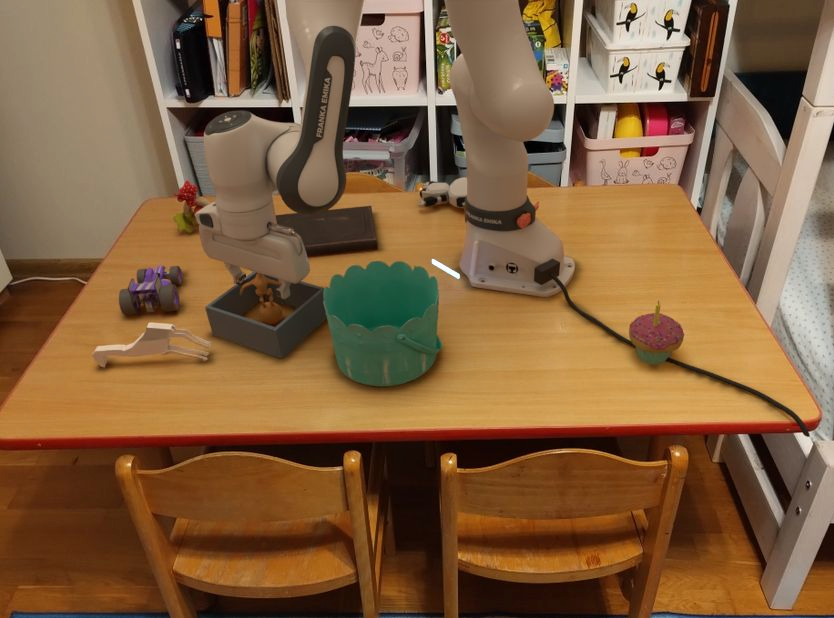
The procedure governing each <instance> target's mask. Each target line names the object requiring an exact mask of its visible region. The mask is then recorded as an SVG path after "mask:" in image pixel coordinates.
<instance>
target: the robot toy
mask: <svg viewBox="0 0 834 618" xmlns="http://www.w3.org/2000/svg"><path fill="white" fill-rule="evenodd" d="M466 195H467V176H466V177H459V178H457V179H454V181H453V182H452V183H451V184H448V183H447V182H439V181H434V180H430V181H426V182H425V183H423V187H422V189H421V190H420V191H419V197H420V198H421V199H422V200H419V201H417V202H416V203H417V206H418V207H426V208H429V207H433V206H440V205H443V204H447V203H448V202H449V204H450V205H452V206H453V207H455V208H458V209H461V208H462V209H464V210H465V197H466Z"/></svg>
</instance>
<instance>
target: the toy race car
mask: <svg viewBox="0 0 834 618" xmlns="http://www.w3.org/2000/svg"><path fill="white" fill-rule="evenodd" d="M169 279H170V280H169ZM136 281H137V283H136ZM136 281H135V279H134V278H131V279H130V281H129V283H128V286H127V288H122V289H120V290H119V293H118V304H119V309H120V311H121V313H122V315H124V316H135V315H139V314H140V312H141V308H145V310H146V312H147V313H154V312H155V311H156V309H157V307H158V306H161V307H160V308H161V309H162V311H163V312H165V313H167V312H177V311H179V309H180V304H181V300H180V299H181V298H180V293H179V290H178V287H177V286H181V285H182V284H183V270H182V268H181V267H180V266H179V265H173V266H169V270H168V271H166V266H164V265H157V266H156V267H155V268H153V267H147V268H139V269H137V271H136ZM140 296H142V299H141V298H140ZM141 304H143V305H141Z"/></svg>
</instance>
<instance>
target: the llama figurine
mask: <svg viewBox="0 0 834 618" xmlns="http://www.w3.org/2000/svg"><path fill="white" fill-rule="evenodd" d="M171 338H183V339H185V340H187V341H189V342H192V343H193V344H195V345H197V346H200V347H202V348H205V349H207V350H210V348H211V344H212V342H213V341H212V340H210V339H209V340H206V339H204V338H201V337H199V336H197V335H196V334H192V333H191V332H190V331H189V330H188V329H184V328H183V329H182V328H176V326H175V325H174V323H162V322H148V324H147V326H146V329H145V331H143V333H141V335H140V336H139V337H137V339H136V340H135V341H133V342H131V343H129V344H126V345H125V344H123V343H122V344H107V345H98V346H96V347H95V349H94V351H93V352H92V354H91V357H92V358H93V360H94V361H95V362H96V363H97V364H98V365H99V367H102V368H106V365H107V363H108V361H107V359H108V357H110V356H115V357H116V356H117V357H126V358H137V357H145V356H146V357H147V356H153V355H154V356H155V355H162V356H167V355H170V354H171V355H177V356H178V355H179V356H184V357H190V358H195V359H200V360H201V359H202V361H203V362H206V361H208V357H207V356H209V354H210V352H209V351H204V350H199V349H194V348H189V347H184V346H181V345H177V344H170V341H171ZM186 352H188V353H186ZM191 353H193V354H191ZM197 354H198V355H197ZM199 354H200V355H199ZM202 355H203V356H202Z"/></svg>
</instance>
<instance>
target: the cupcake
mask: <svg viewBox="0 0 834 618" xmlns="http://www.w3.org/2000/svg"><path fill="white" fill-rule="evenodd" d="M654 309H655V311H654V312H651V313H645V314H642V315H638V316H637V317H636V318H635V319H634V320H632V321H631V322H630V324H629V328H628V336H629V340H630V341H631V342H632V343H633V344H634V345H635V346H636V348H635V349H636V350H635V351H636V356H637V357H638V359H639V360H640V361H641V362H643V363H645V364H648V365H653V366H655V365H656V366H657V365H661V364H664V363H666V359H667V358H668V357H669V358H670V355H672V353H673V352H674V351H677V350H678V349H680V348H681V346H682V343H683V342H684V337H685V333H684V329H683V327H682V325H681V323H679V322H678V321H677V320H675V319H674V318H672V317H671V316H668V315H667V314H663V313H660V311H661V303H660V300H657V303H655V308H654Z"/></svg>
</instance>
